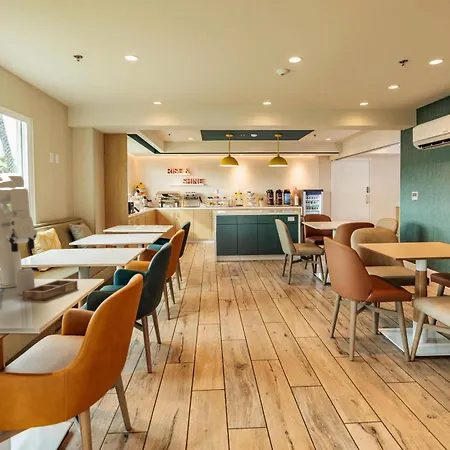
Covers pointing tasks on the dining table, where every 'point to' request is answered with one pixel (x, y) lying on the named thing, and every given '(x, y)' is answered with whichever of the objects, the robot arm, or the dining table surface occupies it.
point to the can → (24, 280)
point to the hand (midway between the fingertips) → (23, 250)
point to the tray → (49, 290)
